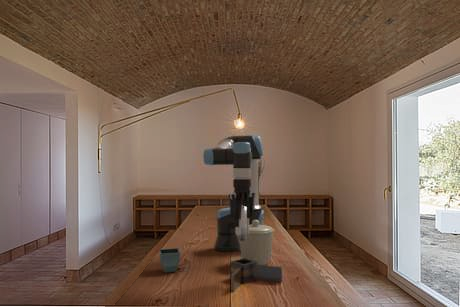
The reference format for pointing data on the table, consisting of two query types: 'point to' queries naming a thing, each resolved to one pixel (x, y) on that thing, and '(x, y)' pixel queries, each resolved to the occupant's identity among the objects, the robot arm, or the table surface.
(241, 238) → the hinge pin
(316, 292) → the table surface
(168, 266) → the flower pot
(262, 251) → the canister
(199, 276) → the table surface
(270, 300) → the table surface
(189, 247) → the table surface
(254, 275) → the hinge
